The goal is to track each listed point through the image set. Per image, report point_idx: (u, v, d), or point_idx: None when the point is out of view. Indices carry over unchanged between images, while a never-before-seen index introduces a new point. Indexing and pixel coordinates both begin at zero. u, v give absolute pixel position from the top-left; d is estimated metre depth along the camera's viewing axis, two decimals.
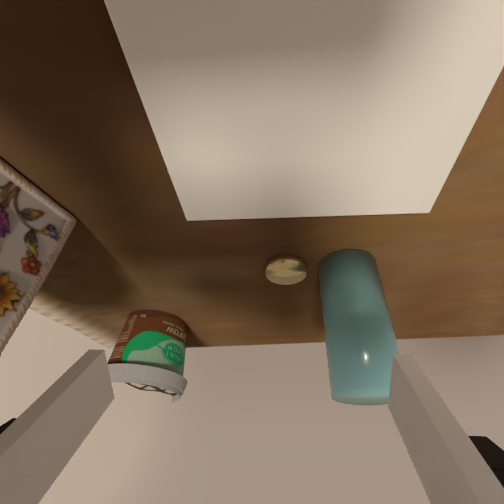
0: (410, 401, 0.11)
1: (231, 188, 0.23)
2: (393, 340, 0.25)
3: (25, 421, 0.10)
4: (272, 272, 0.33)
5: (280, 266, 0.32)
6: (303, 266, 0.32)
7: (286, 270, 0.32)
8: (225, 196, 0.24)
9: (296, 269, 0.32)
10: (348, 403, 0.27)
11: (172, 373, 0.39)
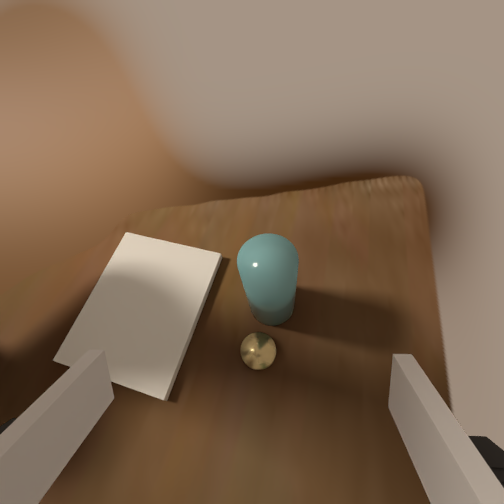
0: (410, 401, 0.11)
1: (154, 354, 0.38)
2: None
3: (25, 421, 0.10)
4: (252, 361, 0.37)
5: (245, 351, 0.37)
6: (253, 333, 0.38)
7: (253, 348, 0.37)
8: (158, 360, 0.37)
9: (255, 339, 0.38)
10: (290, 277, 0.28)
11: None
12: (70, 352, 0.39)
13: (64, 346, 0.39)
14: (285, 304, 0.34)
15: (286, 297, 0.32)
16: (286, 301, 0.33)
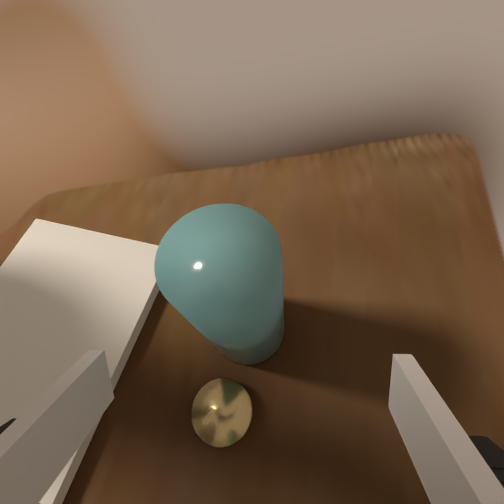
0: (410, 401, 0.11)
1: None
2: None
3: (25, 421, 0.10)
4: (211, 432, 0.21)
5: (199, 414, 0.22)
6: (214, 380, 0.23)
7: (212, 407, 0.22)
8: None
9: (215, 390, 0.22)
10: (263, 292, 0.13)
11: None
12: None
13: None
14: (263, 338, 0.18)
15: (262, 328, 0.16)
16: (264, 334, 0.17)
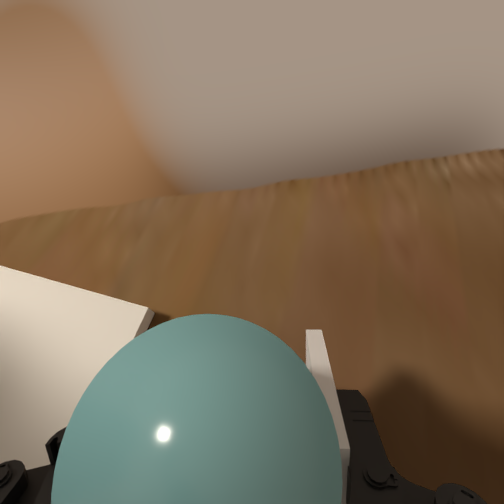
0: (309, 366, 0.13)
1: None
2: None
3: None
4: None
5: None
6: None
7: None
8: None
9: None
10: None
11: None
12: None
13: None
14: None
15: None
16: None
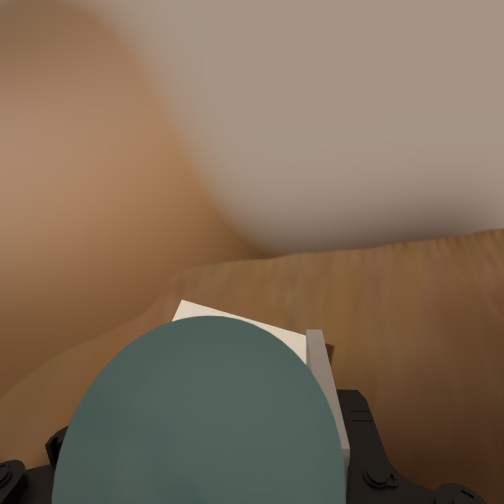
0: (309, 366, 0.13)
1: None
2: None
3: None
4: None
5: None
6: None
7: None
8: None
9: None
10: None
11: None
12: None
13: None
14: None
15: None
16: None
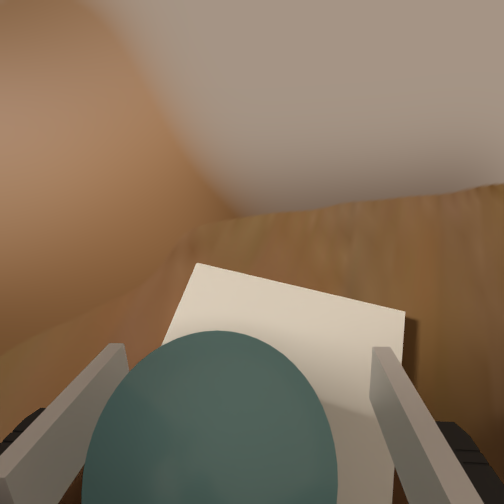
0: (386, 390, 0.12)
1: None
2: None
3: (55, 409, 0.11)
4: None
5: None
6: None
7: None
8: None
9: None
10: None
11: None
12: None
13: None
14: None
15: None
16: None
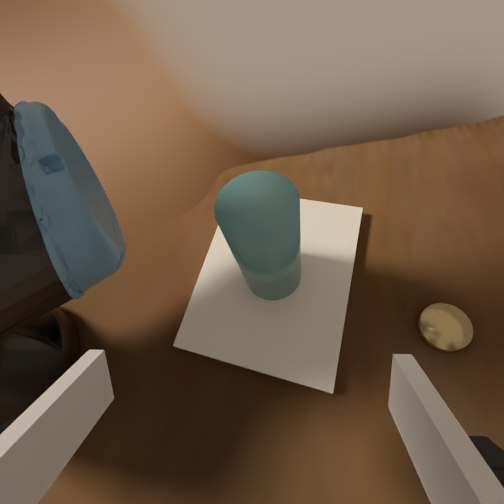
0: (411, 401, 0.11)
1: (305, 334, 0.29)
2: None
3: (25, 421, 0.10)
4: (448, 341, 0.28)
5: (431, 333, 0.28)
6: None
7: (438, 326, 0.28)
8: (312, 342, 0.29)
9: (433, 314, 0.29)
10: (288, 225, 0.20)
11: None
12: (193, 335, 0.31)
13: (184, 328, 0.31)
14: (286, 269, 0.25)
15: (286, 258, 0.23)
16: (287, 265, 0.25)
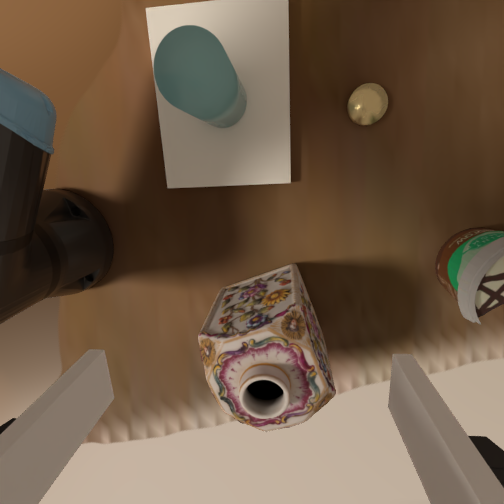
0: (410, 401, 0.11)
1: (262, 147, 0.37)
2: None
3: (25, 421, 0.10)
4: (370, 117, 0.35)
5: (357, 115, 0.35)
6: (351, 94, 0.35)
7: (362, 106, 0.35)
8: (269, 151, 0.37)
9: (357, 98, 0.35)
10: (224, 85, 0.24)
11: (498, 240, 0.31)
12: (179, 175, 0.39)
13: (169, 172, 0.39)
14: (233, 107, 0.30)
15: (231, 102, 0.28)
16: (233, 104, 0.29)
